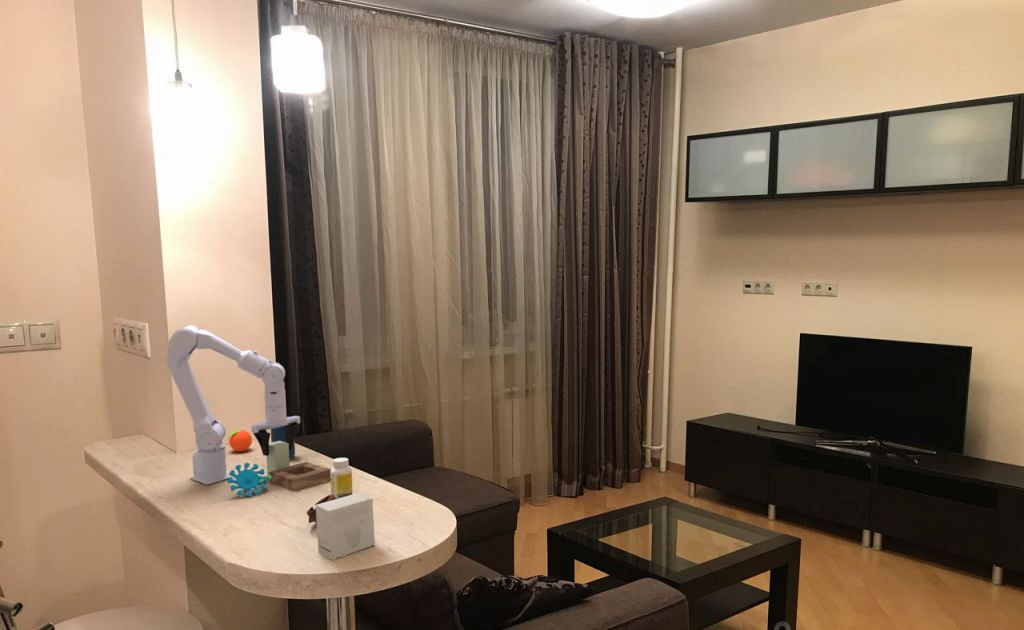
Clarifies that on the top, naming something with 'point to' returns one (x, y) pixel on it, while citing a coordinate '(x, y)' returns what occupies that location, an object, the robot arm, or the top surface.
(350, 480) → the supplement bottle
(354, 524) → the skincare box
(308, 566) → the top surface
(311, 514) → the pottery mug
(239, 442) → the clementine
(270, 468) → the sage peg
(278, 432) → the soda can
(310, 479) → the walnut collar
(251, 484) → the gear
